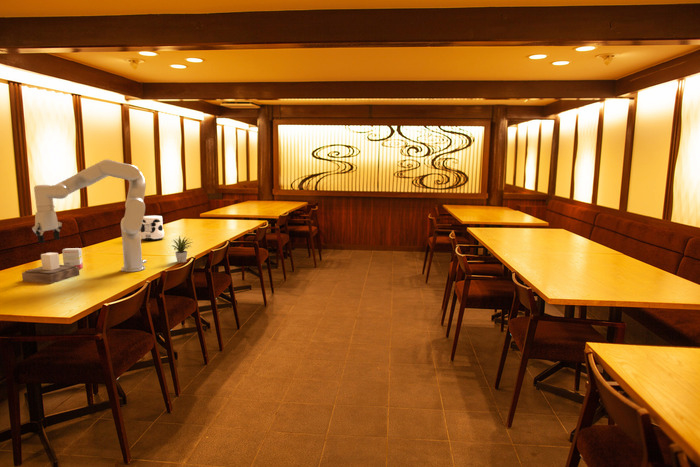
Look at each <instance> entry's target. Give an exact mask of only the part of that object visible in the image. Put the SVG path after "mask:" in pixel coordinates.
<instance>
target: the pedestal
mask: <svg viewBox="0 0 700 467" xmlns="http://www.w3.org/2000/svg"><path fill="white" fill-rule="evenodd" d="M59 265H60V268H57V269H53V270H44V269H42V266H39V267H35V268H33V269H28V270H25V272H21V276H22V277H21V278H22V282H27V283H28V282H30V283H39V284H41V283H42V284H50V285H51V284H55V282H56V283H58V282H62V281H65V280H68V279H71V278H75V277H77V276H80V269H79V267H76V266H69V265H64V264H59Z"/></svg>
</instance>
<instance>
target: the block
mask: <svg viewBox="0 0 700 467" xmlns="http://www.w3.org/2000/svg"><path fill="white" fill-rule="evenodd" d="M40 255H41V257H40V260H41V267H42V269H44V270H53V269H57V268H60V265H61V264H60V257H59V255H60V254H59V253H58V252H46V253H41V254H40Z"/></svg>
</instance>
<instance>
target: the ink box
mask: <svg viewBox="0 0 700 467" xmlns="http://www.w3.org/2000/svg"><path fill="white" fill-rule="evenodd" d="M61 252H62V261H63V265H69V266H76V267H79V270H82V268H84V267H83V266H84V265H83V254H82V253H83V252H82V248H81V247H80V248H79V247H75V248H74V247H73V248H71V247H70V248H68V247H67V248H63V249H62V251H61Z"/></svg>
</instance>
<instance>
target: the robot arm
mask: <svg viewBox="0 0 700 467" xmlns="http://www.w3.org/2000/svg"><path fill="white" fill-rule="evenodd" d="M107 177H113V178H117V179H122V180H127V182H128V183H129V185H128V192H127V197H126V201H125V204H124V206H125V213H124V217H122V218H121V221H120V230H121V240H122V254H123V255H122V257H123V258H122V259H123V266H122V267H121V270H120V271H122V272H124V273H126V272H127V273H129V272H130V273H132V272H133V273H134V272H140V271H143V270H146V265H144V264H146V263H147V261H148V260H147V259H143V256H142V255H143V254H142V253H143V252H142V238H141V236H140V232H141V227H142V222H143V218H144V216H145V213H146V204H145V202H144V199H145V196H146V194H145V193H146V186H147V185H146V184H147V183H146V179H145V176H144V174H143V172H142V171H141V170H140V169H139V168H138V166H136V165H133V164H129V163H124V162H120V161H115V160H112V159H109V158H108V159H106V158H105V159H102V160H101V161H99V162H96V163H95V164H93V165H90V166H88V167H87V168H85V169H81V171H79V172H78V173H76V174H74V175H73V176H70V177H69V178H66V179H65V180H62V181H61V182H58V183H56V184H54V185H50V184H38V185H35V186H34V187H33V190H34V200H35V207H36V211H35V215H34V216H35V218H34V226H32V227H31V229H32V231H33V233H34V234H35V235H36V236H37V242H38V243H39V244H44V243H45V236H44V235H43V234H44V233H45V232H46V231H47V232H48V231H53V239H54V240H60V239H61V238H60V237H61V236H60V235H61V234H60V232H61V229H62V224H63V222H60V221H58V216H57V213H56V210H55V205H54V199H57V200H63V199H65V198H67V197H68V196H69V195H71V194H73V193H75V192H77V191H78V190H80V189H83V188H86V187H89V186H92V185H94V184H95V183H98V182H99V181H102V180H103V179H105V178H107Z"/></svg>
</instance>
